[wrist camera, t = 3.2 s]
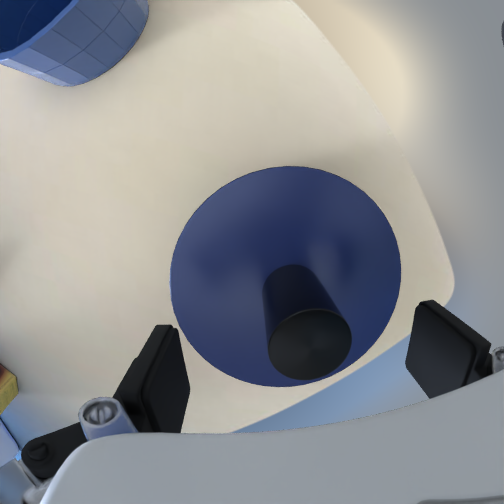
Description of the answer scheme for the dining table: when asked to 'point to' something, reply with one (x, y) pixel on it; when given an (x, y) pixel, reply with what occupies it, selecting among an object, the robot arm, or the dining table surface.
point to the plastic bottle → (6, 446)
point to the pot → (68, 36)
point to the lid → (285, 276)
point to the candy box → (7, 388)
